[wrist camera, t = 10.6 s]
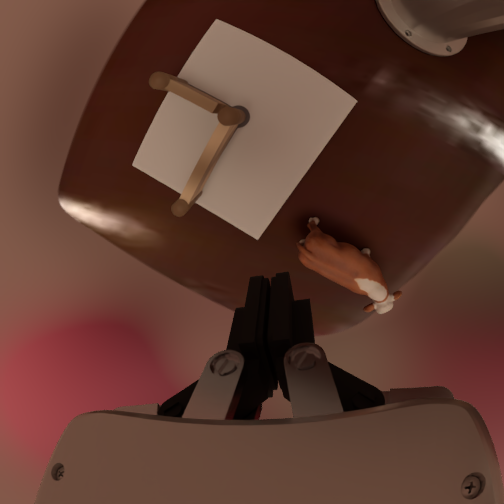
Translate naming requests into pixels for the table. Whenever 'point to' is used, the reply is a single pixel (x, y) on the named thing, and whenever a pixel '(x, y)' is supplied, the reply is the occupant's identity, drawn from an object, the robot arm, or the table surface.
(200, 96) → the fixed fence section
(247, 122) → the card
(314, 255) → the bull figurine
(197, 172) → the fence panel
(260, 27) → the table surface
